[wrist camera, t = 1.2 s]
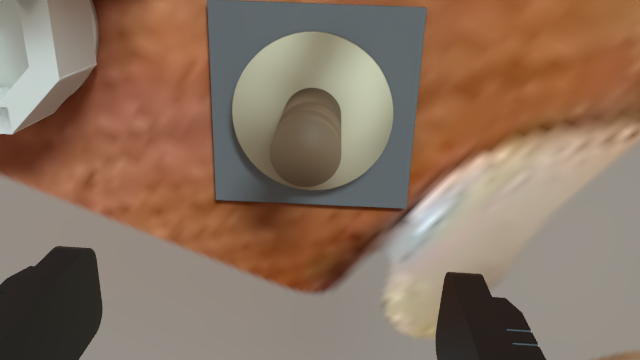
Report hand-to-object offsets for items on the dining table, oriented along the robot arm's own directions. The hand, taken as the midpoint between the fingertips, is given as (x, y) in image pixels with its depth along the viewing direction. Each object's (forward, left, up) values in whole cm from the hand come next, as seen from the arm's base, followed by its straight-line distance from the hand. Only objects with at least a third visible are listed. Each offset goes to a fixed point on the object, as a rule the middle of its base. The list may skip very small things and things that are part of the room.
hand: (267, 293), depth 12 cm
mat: (0, 0, -18) cm, 18 cm away
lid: (0, 0, -18) cm, 18 cm away
